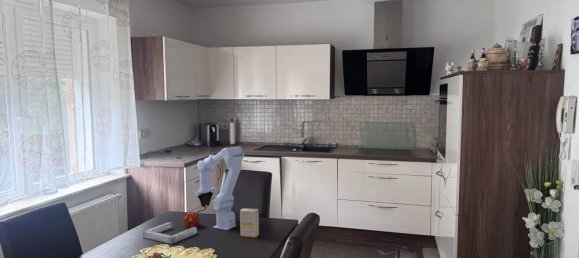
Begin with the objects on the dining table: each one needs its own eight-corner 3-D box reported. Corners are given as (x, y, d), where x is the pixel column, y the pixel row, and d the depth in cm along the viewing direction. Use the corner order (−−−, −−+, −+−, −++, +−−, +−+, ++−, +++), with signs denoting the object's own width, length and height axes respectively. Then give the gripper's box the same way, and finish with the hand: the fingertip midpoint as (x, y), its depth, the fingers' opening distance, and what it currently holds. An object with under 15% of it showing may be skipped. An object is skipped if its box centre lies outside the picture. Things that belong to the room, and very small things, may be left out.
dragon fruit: (194, 225, 210) (191, 236, 199) (180, 217, 208) (177, 227, 197) (203, 213, 209) (201, 223, 198) (189, 205, 207) (187, 214, 196)
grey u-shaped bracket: (196, 233, 193) (196, 227, 193) (171, 244, 178) (171, 237, 178) (169, 227, 202) (168, 222, 202) (142, 237, 187) (142, 231, 187)
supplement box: (259, 234, 190) (259, 208, 189) (255, 238, 186) (255, 211, 185) (244, 233, 193) (243, 207, 192) (239, 236, 188) (239, 210, 188)
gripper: (208, 178, 220) (208, 202, 221) (190, 183, 207) (190, 208, 208) (217, 180, 217) (218, 203, 218) (200, 184, 204) (200, 209, 205)
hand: (205, 206), depth 213 cm, fingers open, 3 cm apart
